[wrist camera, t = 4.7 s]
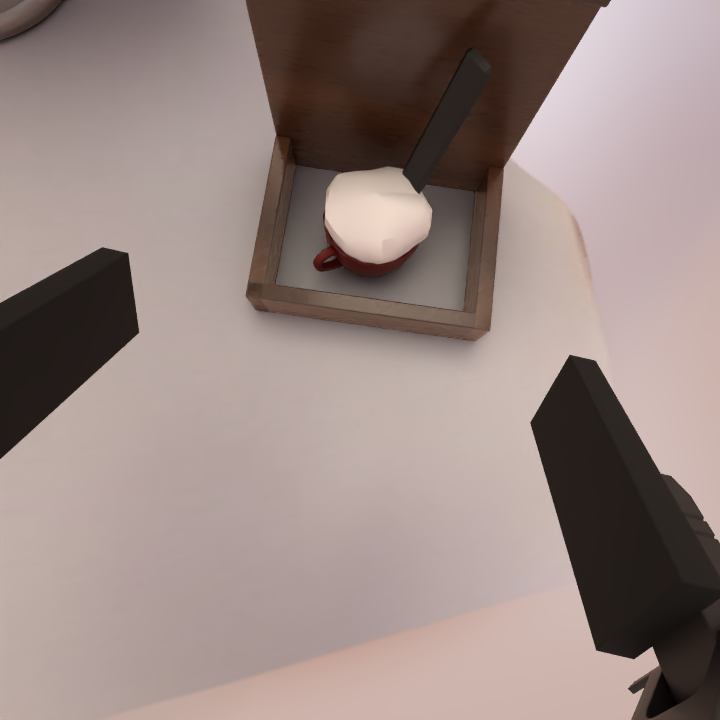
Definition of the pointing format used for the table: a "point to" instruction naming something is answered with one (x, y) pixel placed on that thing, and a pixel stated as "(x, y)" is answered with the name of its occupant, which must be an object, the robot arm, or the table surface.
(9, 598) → the table surface
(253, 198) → the table surface
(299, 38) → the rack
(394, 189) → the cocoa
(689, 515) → the robot arm
